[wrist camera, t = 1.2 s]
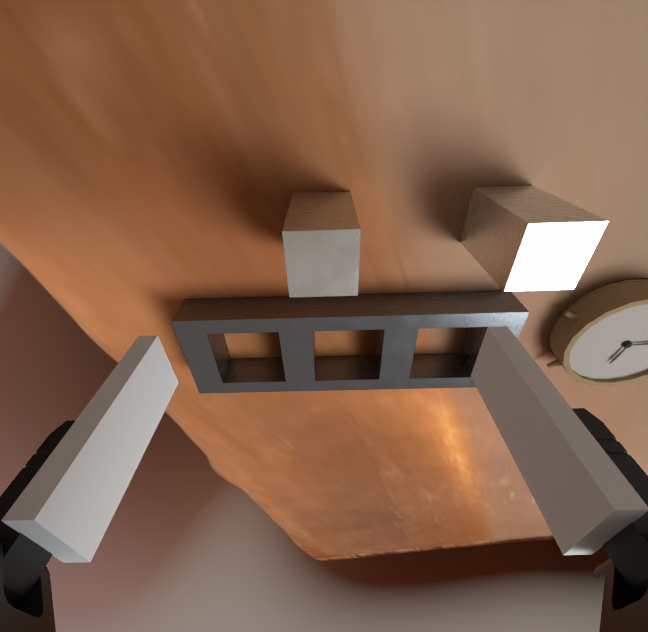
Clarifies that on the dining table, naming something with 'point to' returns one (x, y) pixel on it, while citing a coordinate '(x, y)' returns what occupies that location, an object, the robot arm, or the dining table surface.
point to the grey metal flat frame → (335, 315)
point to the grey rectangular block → (322, 245)
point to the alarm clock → (605, 335)
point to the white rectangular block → (530, 237)
